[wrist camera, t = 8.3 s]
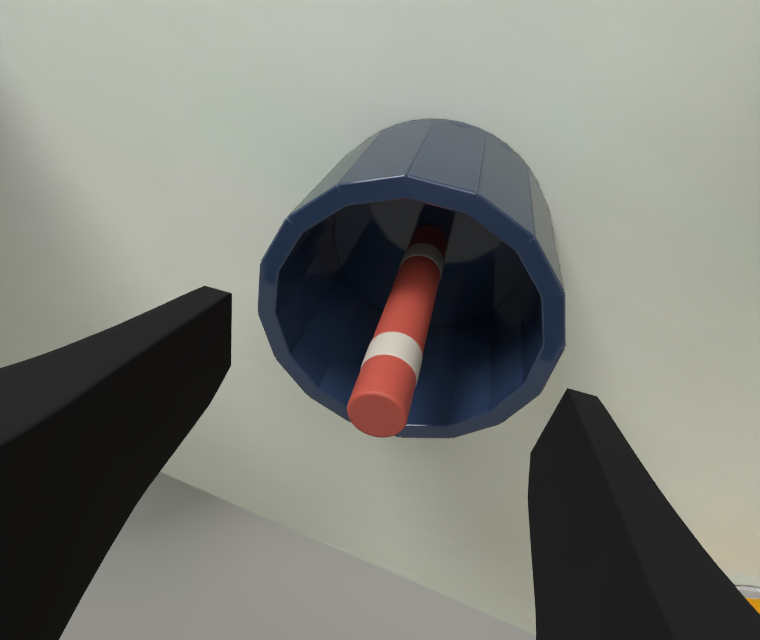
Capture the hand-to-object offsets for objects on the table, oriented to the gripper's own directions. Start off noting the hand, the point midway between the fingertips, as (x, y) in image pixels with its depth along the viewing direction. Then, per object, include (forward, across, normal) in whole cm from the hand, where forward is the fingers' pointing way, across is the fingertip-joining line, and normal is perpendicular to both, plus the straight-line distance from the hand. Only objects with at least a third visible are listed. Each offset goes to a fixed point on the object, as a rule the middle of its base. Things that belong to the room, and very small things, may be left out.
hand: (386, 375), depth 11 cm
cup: (+7, 0, 0) cm, 7 cm away
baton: (+7, 0, 0) cm, 7 cm away
